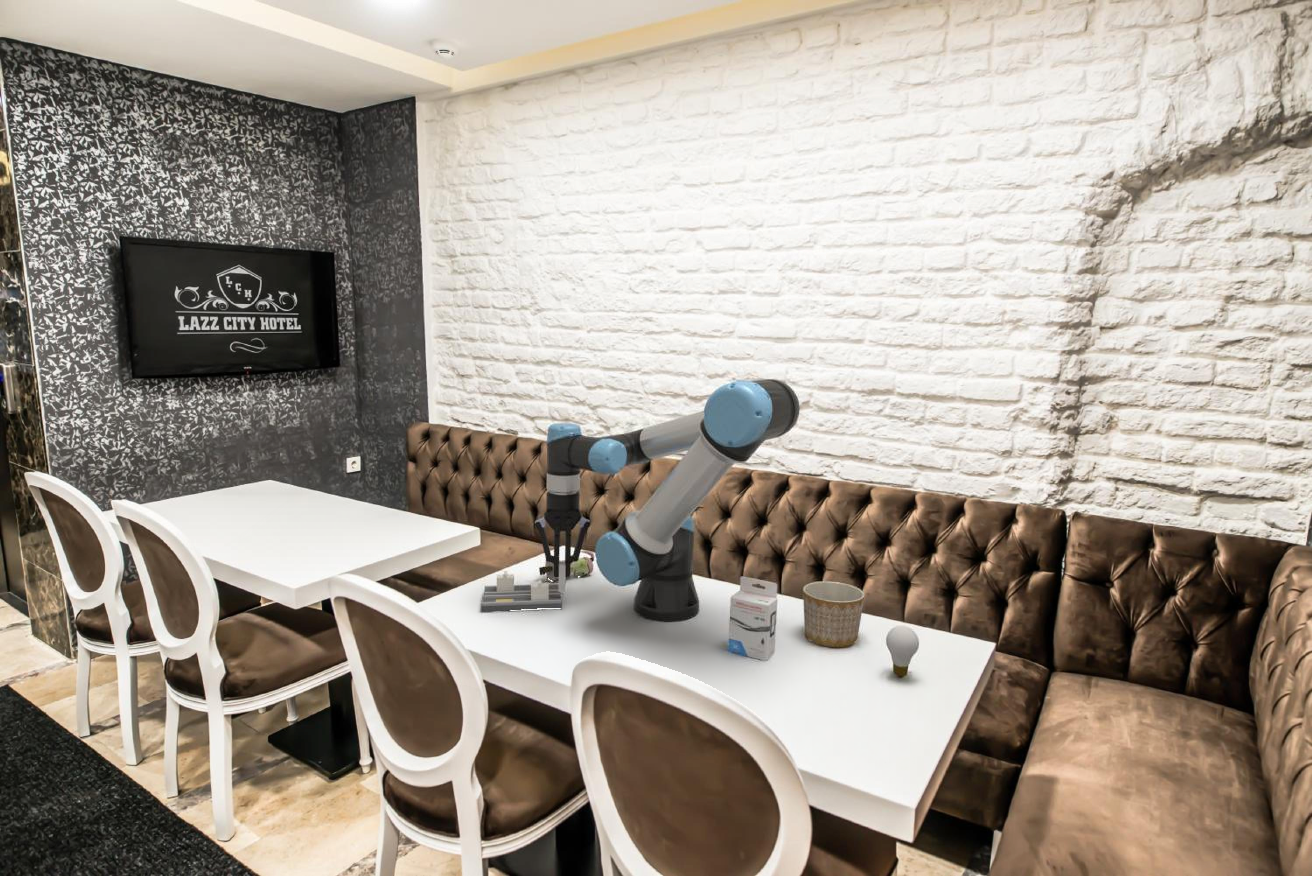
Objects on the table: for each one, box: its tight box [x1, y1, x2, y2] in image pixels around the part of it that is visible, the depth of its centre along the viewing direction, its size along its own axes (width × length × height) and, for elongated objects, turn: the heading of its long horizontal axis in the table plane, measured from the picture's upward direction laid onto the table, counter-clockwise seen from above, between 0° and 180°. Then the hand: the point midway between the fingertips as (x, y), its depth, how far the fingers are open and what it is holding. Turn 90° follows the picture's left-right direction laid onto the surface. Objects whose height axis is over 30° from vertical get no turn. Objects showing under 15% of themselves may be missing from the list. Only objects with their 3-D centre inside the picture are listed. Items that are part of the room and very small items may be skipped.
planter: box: [802, 580, 865, 648], centre depth 159 cm, size 13×13×10 cm
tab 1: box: [496, 570, 515, 592], centre depth 179 cm, size 4×2×4 cm, turn 99°
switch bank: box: [481, 583, 563, 613], centre depth 177 cm, size 18×12×2 cm, turn 99°
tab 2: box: [530, 579, 549, 601], centre depth 174 cm, size 4×2×4 cm, turn 99°
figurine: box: [538, 549, 595, 582], centre depth 194 cm, size 9×7×15 cm
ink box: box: [727, 575, 778, 662], centre depth 151 cm, size 8×5×15 cm, turn 60°
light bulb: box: [885, 625, 920, 679], centre depth 142 cm, size 6×6×10 cm
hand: (561, 590), depth 175 cm, fingers closed
